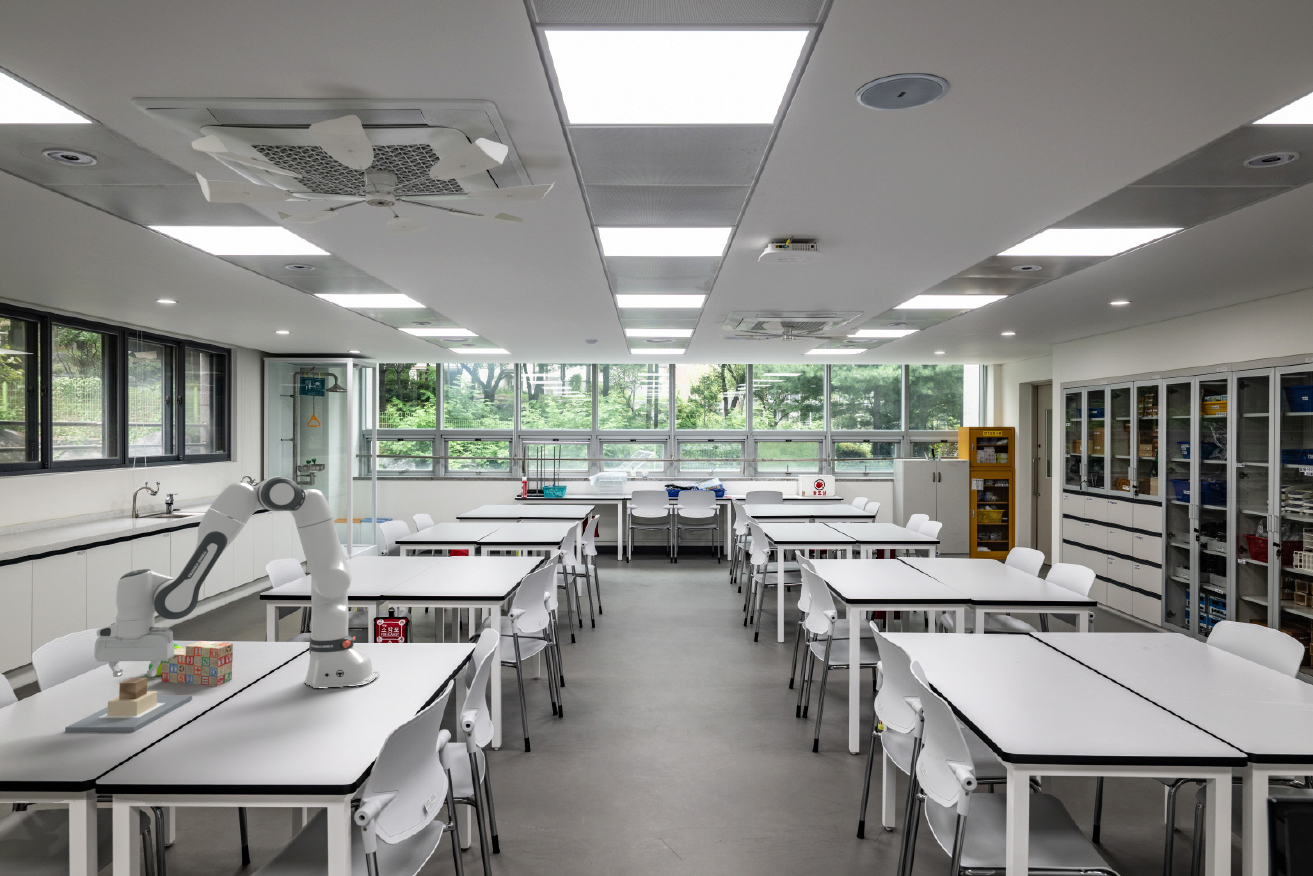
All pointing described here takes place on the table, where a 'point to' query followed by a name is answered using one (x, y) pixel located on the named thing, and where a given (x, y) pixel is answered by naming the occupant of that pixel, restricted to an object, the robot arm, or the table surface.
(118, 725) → the board
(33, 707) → the table surface
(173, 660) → the stack of blocks
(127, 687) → the walnut cube
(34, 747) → the table surface
